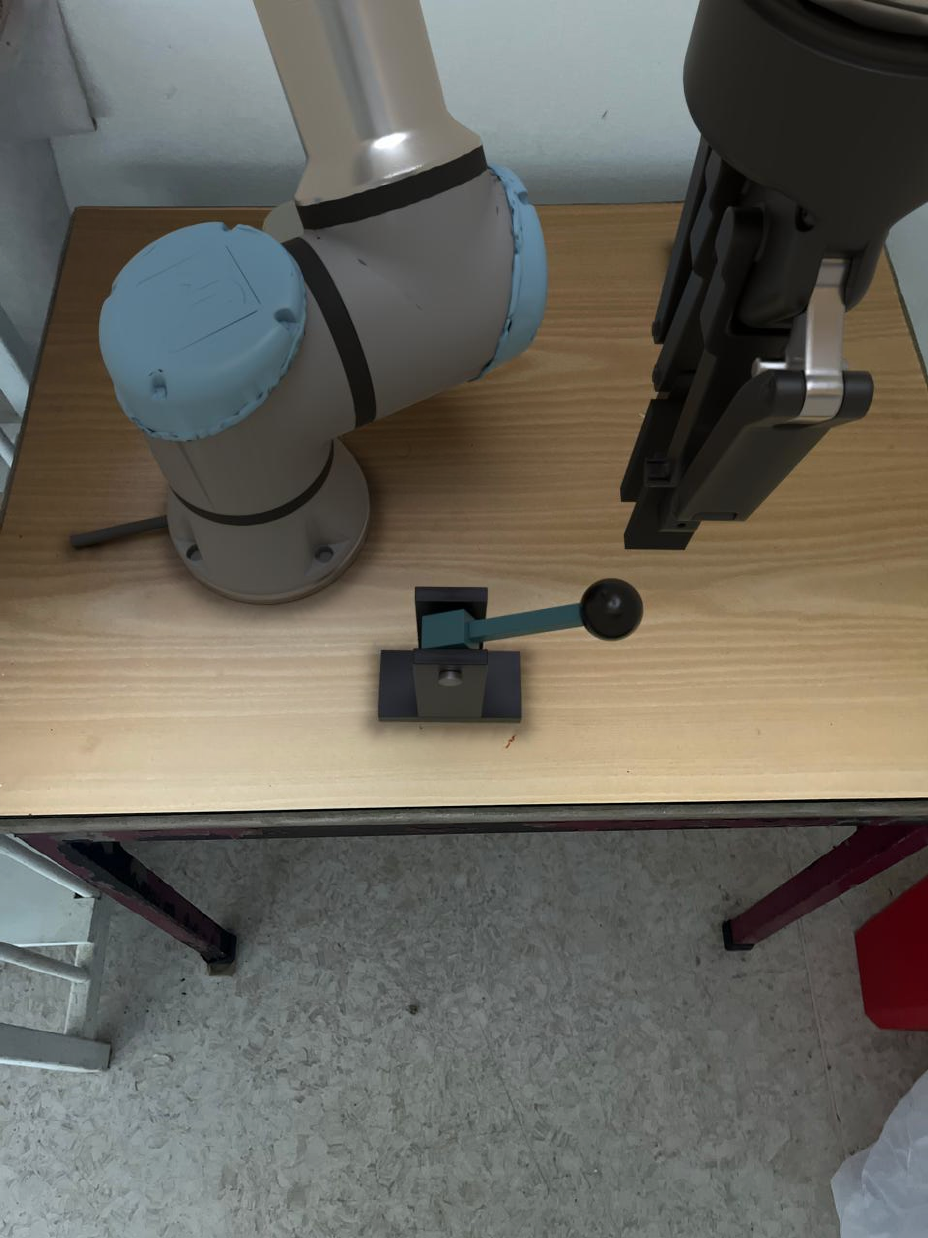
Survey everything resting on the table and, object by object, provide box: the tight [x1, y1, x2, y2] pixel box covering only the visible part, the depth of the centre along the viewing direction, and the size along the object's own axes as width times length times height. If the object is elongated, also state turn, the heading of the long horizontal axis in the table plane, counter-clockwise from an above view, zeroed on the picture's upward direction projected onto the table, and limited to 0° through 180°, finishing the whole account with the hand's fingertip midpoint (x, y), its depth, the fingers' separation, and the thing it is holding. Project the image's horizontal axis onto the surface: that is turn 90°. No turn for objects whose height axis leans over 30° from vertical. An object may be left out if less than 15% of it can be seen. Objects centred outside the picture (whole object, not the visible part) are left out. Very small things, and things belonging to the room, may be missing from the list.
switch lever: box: [421, 577, 644, 649], centre depth 50 cm, size 13×4×4 cm, turn 90°
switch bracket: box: [377, 585, 522, 724], centre depth 56 cm, size 10×6×12 cm, turn 90°
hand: (651, 518), depth 39 cm, fingers closed
